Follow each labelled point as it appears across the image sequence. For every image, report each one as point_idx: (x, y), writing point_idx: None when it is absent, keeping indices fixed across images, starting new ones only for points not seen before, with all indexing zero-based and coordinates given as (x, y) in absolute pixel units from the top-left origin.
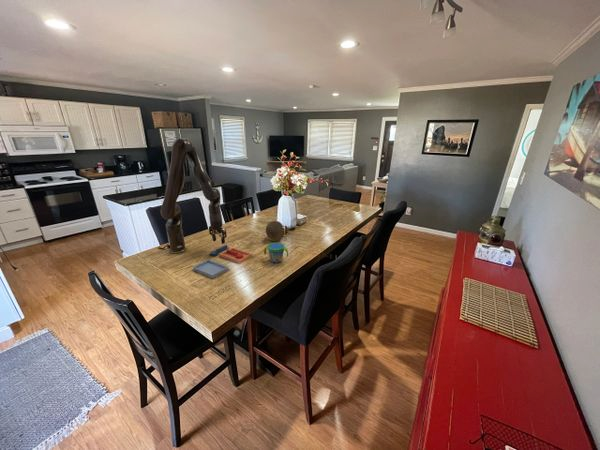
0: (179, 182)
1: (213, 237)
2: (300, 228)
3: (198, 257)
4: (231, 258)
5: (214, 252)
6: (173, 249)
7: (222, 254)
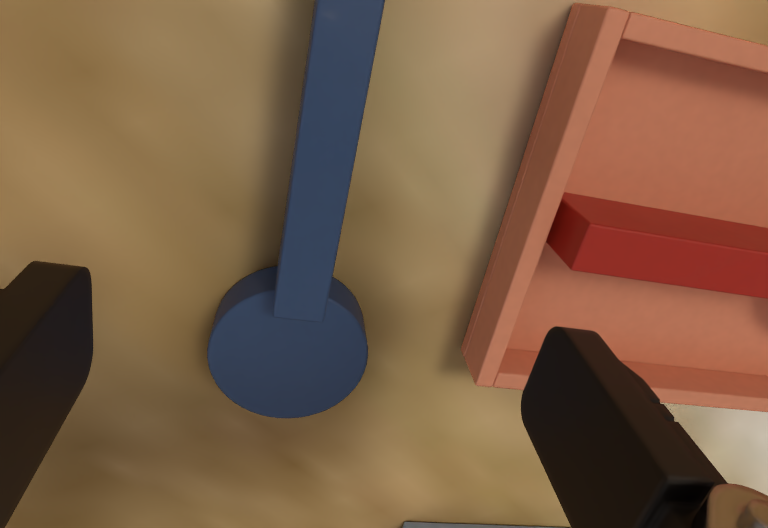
0: None
1: (16, 494)
2: None
3: (123, 500)
4: (747, 405)
5: (309, 365)
6: None
7: None
